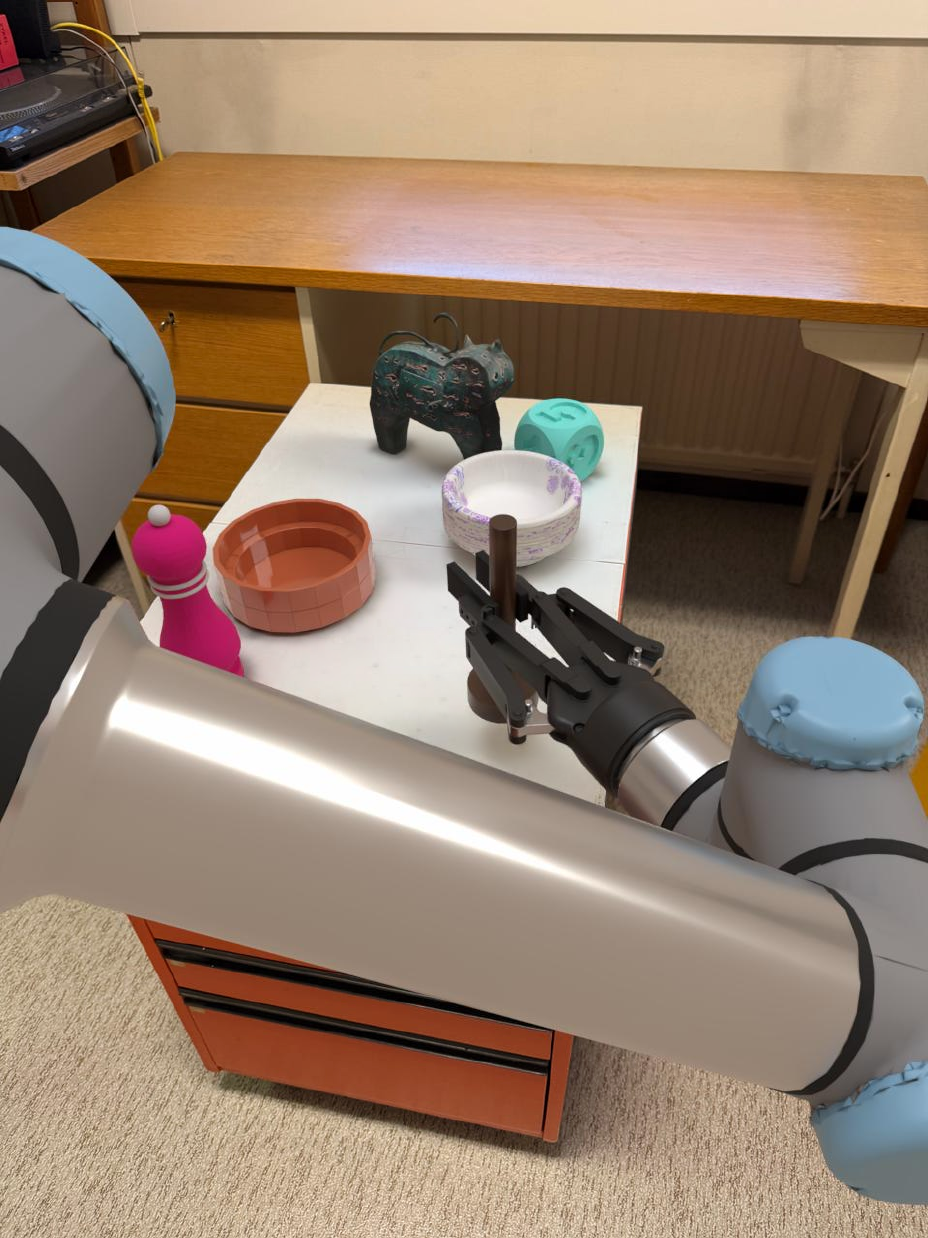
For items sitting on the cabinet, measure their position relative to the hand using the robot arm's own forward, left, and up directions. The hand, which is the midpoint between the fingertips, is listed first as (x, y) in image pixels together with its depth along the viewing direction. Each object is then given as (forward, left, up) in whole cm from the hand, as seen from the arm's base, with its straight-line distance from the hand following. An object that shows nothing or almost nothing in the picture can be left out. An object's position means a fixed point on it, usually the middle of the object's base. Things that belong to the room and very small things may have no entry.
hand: (465, 570), depth 71 cm
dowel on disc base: (+2, -5, -10) cm, 11 cm away
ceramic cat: (+7, +42, -16) cm, 45 cm away
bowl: (-13, +22, -15) cm, 30 cm away
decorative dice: (+21, +36, -16) cm, 44 cm away
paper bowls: (+11, +23, -16) cm, 30 cm away
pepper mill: (-23, +10, -16) cm, 30 cm away
